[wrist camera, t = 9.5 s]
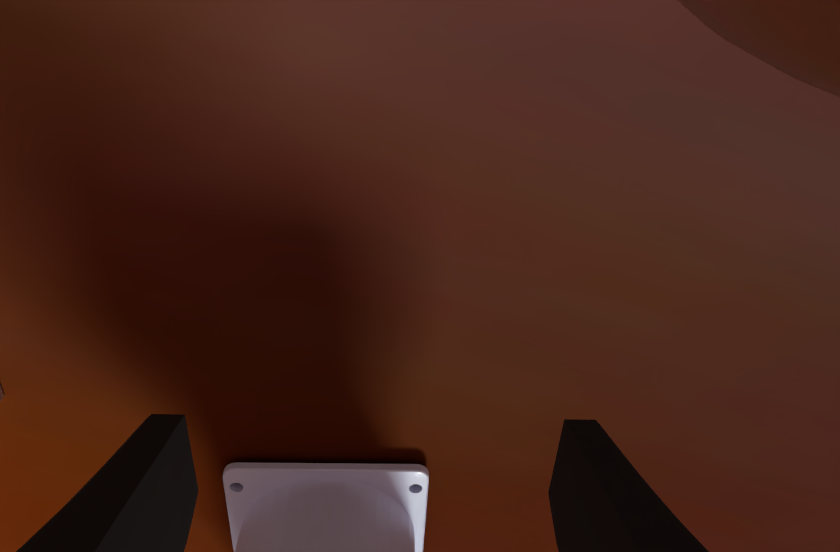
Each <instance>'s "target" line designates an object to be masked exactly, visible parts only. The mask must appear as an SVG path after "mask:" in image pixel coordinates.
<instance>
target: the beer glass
mask: <svg viewBox="0 0 840 552" xmlns="http://www.w3.org/2000/svg"><path fill="white" fill-rule="evenodd" d="M677 1H679V2H680V3H681V4H682V5H683V6H684V7H685V8H687V9H688V10H689V11H690V12H691V13H692V14H693V15H695V16H696V17H697V18H698V19H699V20H700V21H701V22H702V23H704V24H705V25H706V26H707V27H708V28H710V29H711V30H712V31H713V32H715V33H716V34H717V35H719V36H720V37H722V38H723V39H725V40H726V41H728V42H730V43H731V44H733V45H735V46H736V47H738V48H740V49H742V50H744V51H746V52H747V53H749V54H751V55H753V56H755V57H756V58H758V59H760V60H762V61H764V62H765V63H767V64H769V65H771V66H773V67H774V68H776V69H778V70H780V71H782V72H783V73H785V74H787V75H789V76H791V77H793V78H795V79H797V80H799V81H802V82H804V83H806V84H809V85H811V86H814V87H816V88H819V89H821V90H823V91H826V92H828V93H831V94H833V95H836V96H838V97H840V0H677Z"/></svg>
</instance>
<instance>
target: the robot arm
mask: <svg viewBox="0 0 840 552" xmlns="http://www.w3.org/2000/svg"><path fill="white" fill-rule="evenodd" d="M236 483H240V484H236ZM428 483H429V474H428V469H427V468H426V467H425V466H423V465H419V464H356V463H243V462H236V463H230V464H228V465H227V466H226V467H225V469H224V472H223V484H224V491H225V497H226V504H227V511H228V517H229V524H230V531H231V537H232V544H233V550H234V552H423V545H424V533H425V520H426V508H427V495H428ZM413 484H418V485H413ZM197 495H198V486H197V480H196V475H195V469H194V464H193V458H192V453H191V447H190V442H189V436H188V431H187V425H186V419H185V415H171V414H151V415H150V416H149V417H148V418H147V419H146V420H145V421H144V422H143V423H142V424H141V425H140V426H139V427H138V428H137V430H136V431H135V432H134V433H133V434H132V435H131V436H130V437H129V438H128V439H127V441H126V442H125V443H124V444H123V445H122V446H121V447H120V448H119V449H118V450H117V452H116V453H115V454H114V455H113V456H112V457H111V458H110V459H109V460H108V461H107V462H106V463H105V464H104V466H103V467H102V468H101V469H100V470H99V471H98V472H97V473H96V474H95V475H94V476H93V477H92V478H91V479H90V480H89V481H88V482H87V483H86V484H85V485H84V486H83V487H82V488H81V490H80V491H79V492H78V493H77V494H76V495H75V496H74V497H73V498H72V499H71V500H70V501H69V502H68V503H67V504H66V505H65V506H64V507H63V508H62V509H61V510H60V511H59V512H58V513H57V514H56V515H55V516H54V517H53V518H51V519H50V520H49V521H48V522H47V523H46V524H45V525H44V526H43V527H42V528H41V529H40V530H39V531H38V532H37V533H36V534H35V535H33V536H32V537H31V538H30V539H29V540H28V541H27V542H26V543H25V544H24V545H23V546H22V547H21V548H20V549H18V550H17V551H16V552H184V549H185V546H186V543H187V538H188V534H189V530H190V526H191V522H192V517H193V513H194V508H195V504H196V499H197ZM549 500H550V506H551V513H552V519H553V525H554V530H555V536H556V542H557V546H558V550H559V552H708V550H707V549H706V548H705V547H704V546H703V545H702V544H701V543H700V542H699V541H698V540H697V539H696V538H695V537H694V536H693V535H692V534H691V533H690V532H689V531H688V529H687V528H686V527H685V526H684V525H683V524H682V523H681V522H680V521H679V520H678V519H677V517H676V516H675V515H674V514H673V513H672V512H671V511H670V509H669V508H668V507H667V506H666V505H665V504H664V503H663V501H662V500H661V499H660V498H659V497H658V496H657V495H656V493H655V492H654V491H653V490H652V489H651V488H650V486H649V485H648V484H647V483H646V482H645V480H644V479H643V478H642V477H641V476H640V474H639V473H638V472H637V471H636V469H635V468H634V467H633V466H632V464H631V463H630V462H629V461H628V460H627V458H626V457H625V456H624V455H623V453H622V452H621V451H620V450H619V448H618V447H617V446H616V444H615V443H614V442H613V441H612V439H611V438H610V437H609V436H608V434H607V433H606V432H605V430H604V429H603V428H602V427H601V425H600V424H599V423H598V422H597V421H596V420H564V424H563V428H562V433H561V437H560V442H559V447H558V451H557V456H556V460H555V465H554V470H553V474H552V479H551V483H550V488H549Z"/></svg>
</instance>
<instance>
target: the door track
mask: <svg viewBox="0 0 840 552" xmlns="http://www.w3.org/2000/svg"><path fill="white" fill-rule="evenodd" d="M3 397H4V393H3V391H2V388H1V385H0V401H1V400H2V398H3Z"/></svg>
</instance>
